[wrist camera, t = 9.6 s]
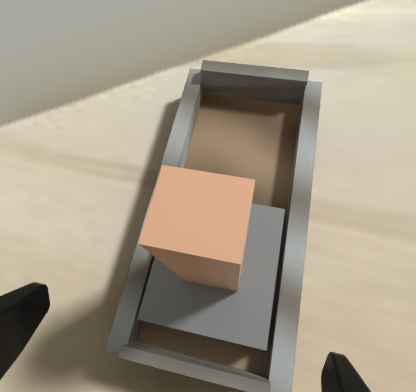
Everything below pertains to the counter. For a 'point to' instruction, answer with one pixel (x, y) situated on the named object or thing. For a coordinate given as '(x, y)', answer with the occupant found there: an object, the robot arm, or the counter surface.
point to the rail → (263, 195)
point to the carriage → (211, 256)
